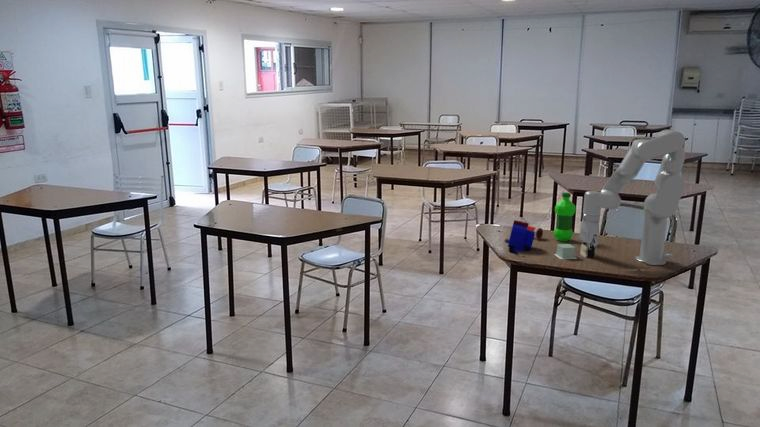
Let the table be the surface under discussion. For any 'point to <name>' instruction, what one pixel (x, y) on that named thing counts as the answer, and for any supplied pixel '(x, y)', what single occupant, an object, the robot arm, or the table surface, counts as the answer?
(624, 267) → the table surface
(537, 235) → the toy hammer
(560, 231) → the plastic bottle
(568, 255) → the sage block
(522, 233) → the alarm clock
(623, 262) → the table surface
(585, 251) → the maple cube
